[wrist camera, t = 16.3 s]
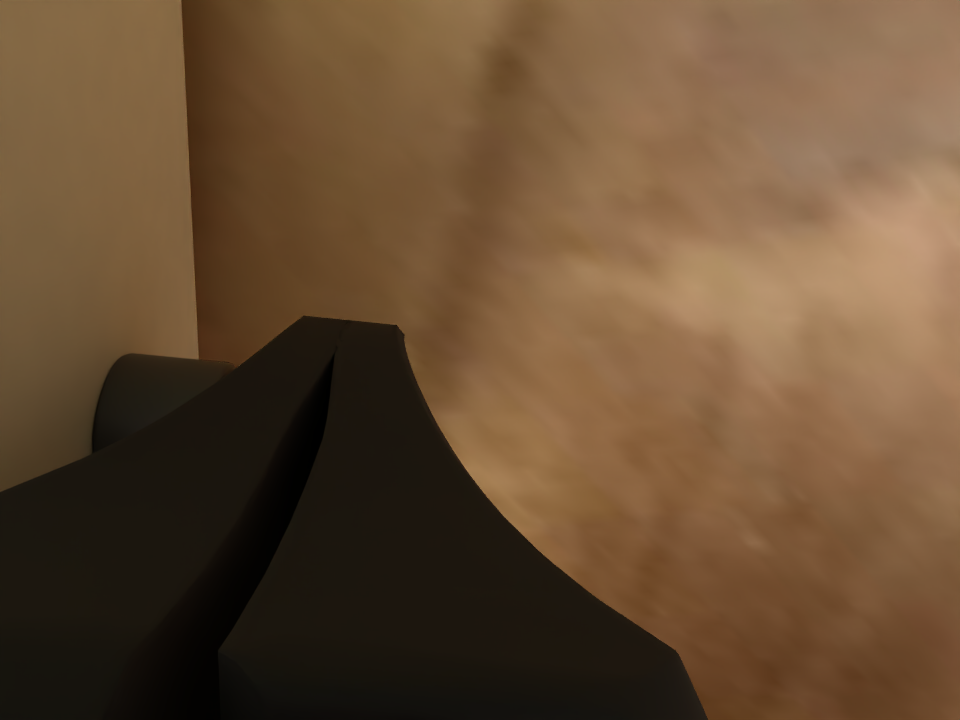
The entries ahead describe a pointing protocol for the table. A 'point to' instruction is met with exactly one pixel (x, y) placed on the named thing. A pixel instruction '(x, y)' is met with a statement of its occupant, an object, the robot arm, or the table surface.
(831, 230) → the table surface
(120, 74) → the drawer
